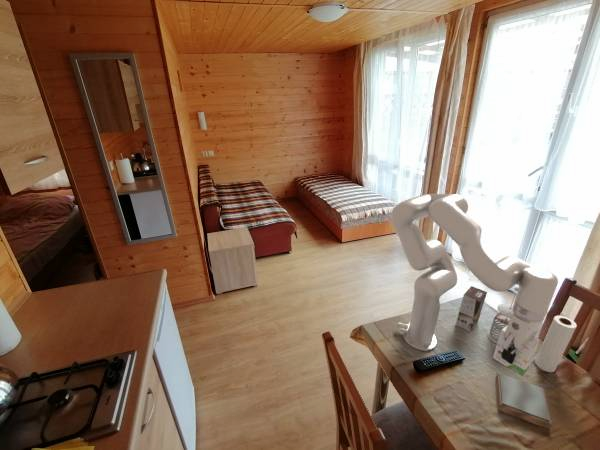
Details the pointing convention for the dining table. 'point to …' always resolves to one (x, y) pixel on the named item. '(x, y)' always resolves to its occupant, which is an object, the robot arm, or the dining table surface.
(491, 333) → the french press
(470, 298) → the coffee box
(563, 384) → the dining table surface
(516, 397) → the stand
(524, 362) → the ink box
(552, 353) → the paper towel roll
